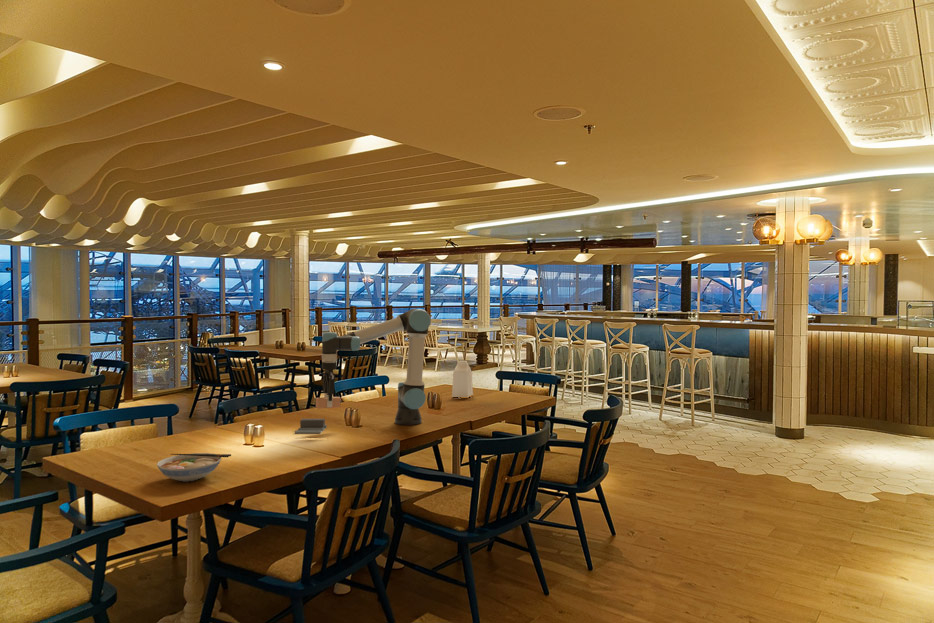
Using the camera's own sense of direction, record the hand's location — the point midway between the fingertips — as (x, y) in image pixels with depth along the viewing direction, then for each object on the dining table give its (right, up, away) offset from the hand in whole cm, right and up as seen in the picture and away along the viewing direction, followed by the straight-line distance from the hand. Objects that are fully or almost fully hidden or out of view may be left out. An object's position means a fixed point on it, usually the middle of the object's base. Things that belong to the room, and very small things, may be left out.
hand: (328, 406), depth 311 cm
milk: (+70, -12, +114) cm, 135 cm away
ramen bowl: (-34, -15, -82) cm, 90 cm away
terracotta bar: (0, -1, 0) cm, 1 cm away
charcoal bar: (-9, -13, +4) cm, 16 cm away
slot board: (-9, -14, 0) cm, 16 cm away
